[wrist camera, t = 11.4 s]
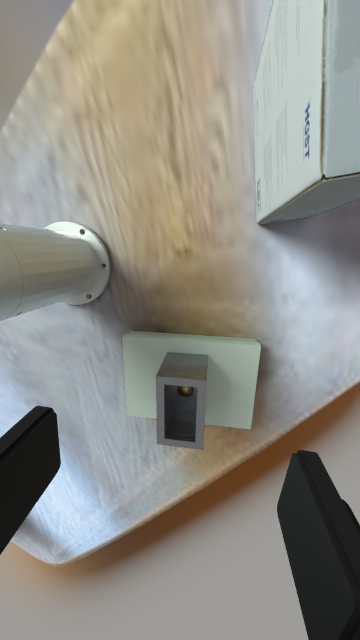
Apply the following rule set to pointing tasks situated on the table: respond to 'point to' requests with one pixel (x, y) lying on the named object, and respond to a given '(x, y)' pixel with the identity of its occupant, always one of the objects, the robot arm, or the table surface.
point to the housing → (181, 400)
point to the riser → (222, 374)
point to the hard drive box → (307, 109)
